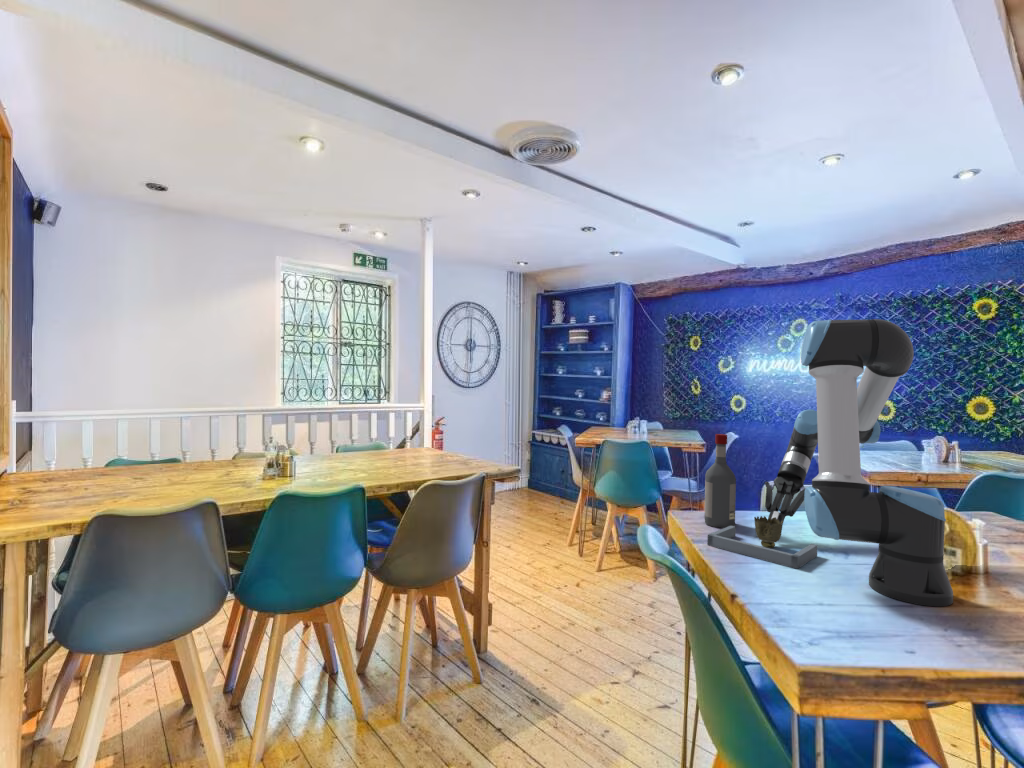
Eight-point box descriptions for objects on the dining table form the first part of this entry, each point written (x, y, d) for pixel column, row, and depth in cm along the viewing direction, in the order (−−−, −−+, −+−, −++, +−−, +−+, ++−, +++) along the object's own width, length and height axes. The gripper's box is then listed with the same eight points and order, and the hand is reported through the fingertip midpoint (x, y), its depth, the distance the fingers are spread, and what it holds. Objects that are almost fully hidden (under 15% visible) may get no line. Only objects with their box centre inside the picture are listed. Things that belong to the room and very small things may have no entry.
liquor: (705, 526, 166) (707, 435, 166) (704, 519, 175) (706, 432, 174) (735, 529, 163) (737, 436, 163) (732, 522, 172) (734, 434, 171)
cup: (787, 551, 142) (788, 523, 142) (761, 550, 143) (761, 522, 142) (774, 542, 150) (775, 516, 150) (749, 542, 150) (749, 515, 150)
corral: (817, 556, 139) (817, 545, 139) (797, 568, 129) (797, 557, 129) (730, 535, 157) (730, 525, 157) (707, 544, 147) (707, 534, 147)
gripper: (819, 480, 157) (798, 544, 146) (775, 473, 167) (752, 533, 156) (813, 465, 154) (792, 530, 143) (769, 459, 163) (745, 519, 152)
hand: (771, 532), depth 149 cm, fingers closed
